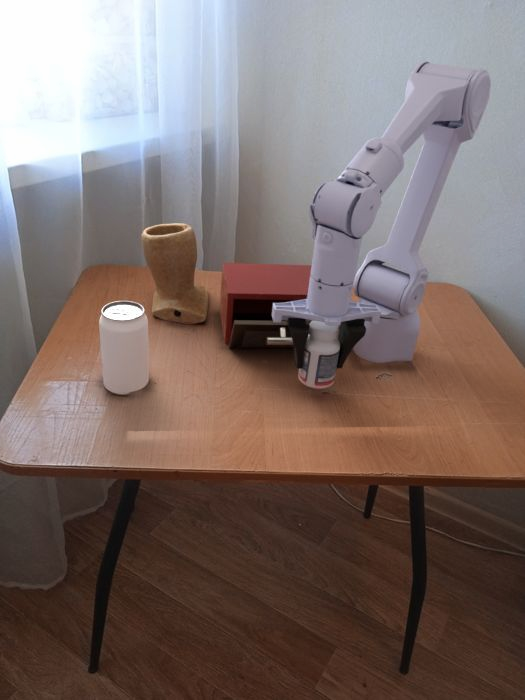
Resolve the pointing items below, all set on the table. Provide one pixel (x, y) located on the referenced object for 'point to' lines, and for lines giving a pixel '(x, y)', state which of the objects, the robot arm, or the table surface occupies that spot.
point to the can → (124, 347)
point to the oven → (259, 291)
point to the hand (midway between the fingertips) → (317, 364)
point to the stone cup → (174, 273)
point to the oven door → (261, 335)
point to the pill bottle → (320, 356)
